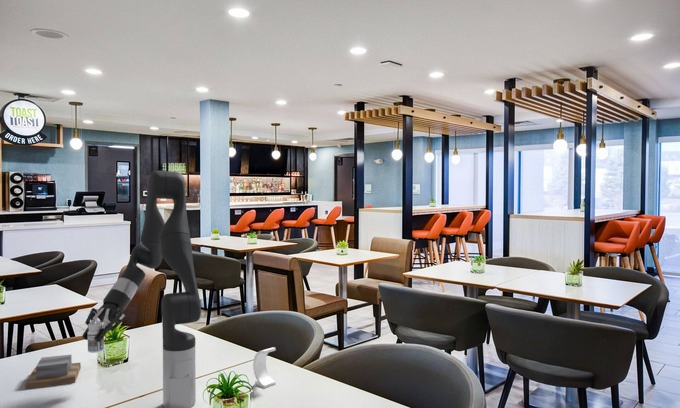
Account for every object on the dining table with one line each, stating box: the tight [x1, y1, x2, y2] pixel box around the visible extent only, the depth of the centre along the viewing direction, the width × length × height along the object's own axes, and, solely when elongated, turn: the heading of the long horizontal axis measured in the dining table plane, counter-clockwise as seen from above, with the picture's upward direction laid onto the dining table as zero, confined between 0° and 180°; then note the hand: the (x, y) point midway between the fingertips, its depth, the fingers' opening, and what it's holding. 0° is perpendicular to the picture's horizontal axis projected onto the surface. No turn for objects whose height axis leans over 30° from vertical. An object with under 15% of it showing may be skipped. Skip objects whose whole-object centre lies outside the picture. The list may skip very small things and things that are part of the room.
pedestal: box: [24, 354, 81, 390], centre depth 163 cm, size 14×14×6 cm
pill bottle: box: [87, 322, 105, 354], centre depth 155 cm, size 5×5×8 cm
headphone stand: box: [252, 347, 277, 389], centre depth 159 cm, size 5×6×12 cm
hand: (90, 339), depth 153 cm, fingers closed on pill bottle, 4 cm apart
